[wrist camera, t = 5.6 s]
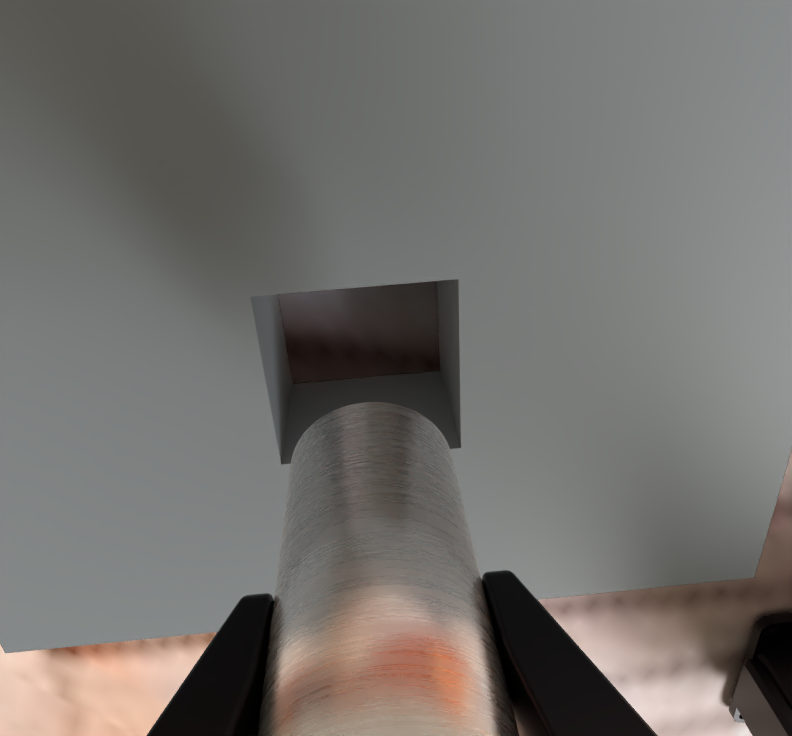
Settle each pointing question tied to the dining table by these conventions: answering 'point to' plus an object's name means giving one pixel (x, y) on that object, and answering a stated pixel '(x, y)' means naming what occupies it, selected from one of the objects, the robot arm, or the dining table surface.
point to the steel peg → (379, 590)
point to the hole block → (387, 265)
